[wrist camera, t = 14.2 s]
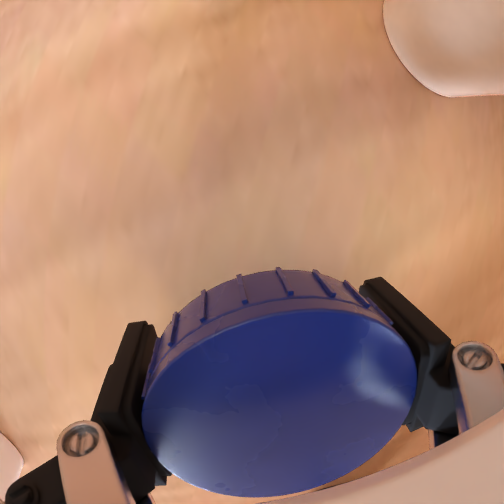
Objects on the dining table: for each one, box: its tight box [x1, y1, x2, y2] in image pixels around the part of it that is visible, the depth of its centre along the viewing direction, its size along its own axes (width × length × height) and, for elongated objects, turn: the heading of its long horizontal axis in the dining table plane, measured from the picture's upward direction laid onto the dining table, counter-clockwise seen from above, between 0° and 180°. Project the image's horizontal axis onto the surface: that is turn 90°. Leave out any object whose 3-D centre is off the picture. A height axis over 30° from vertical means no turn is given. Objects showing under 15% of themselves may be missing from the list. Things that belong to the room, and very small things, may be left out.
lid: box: [141, 267, 417, 497], centre depth 7 cm, size 7×7×2 cm
